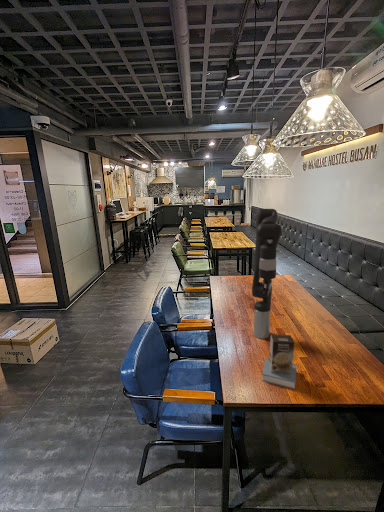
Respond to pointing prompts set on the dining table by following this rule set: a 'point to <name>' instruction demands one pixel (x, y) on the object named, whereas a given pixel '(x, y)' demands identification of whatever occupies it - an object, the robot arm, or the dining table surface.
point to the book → (279, 376)
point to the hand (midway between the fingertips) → (266, 299)
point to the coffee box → (281, 353)
